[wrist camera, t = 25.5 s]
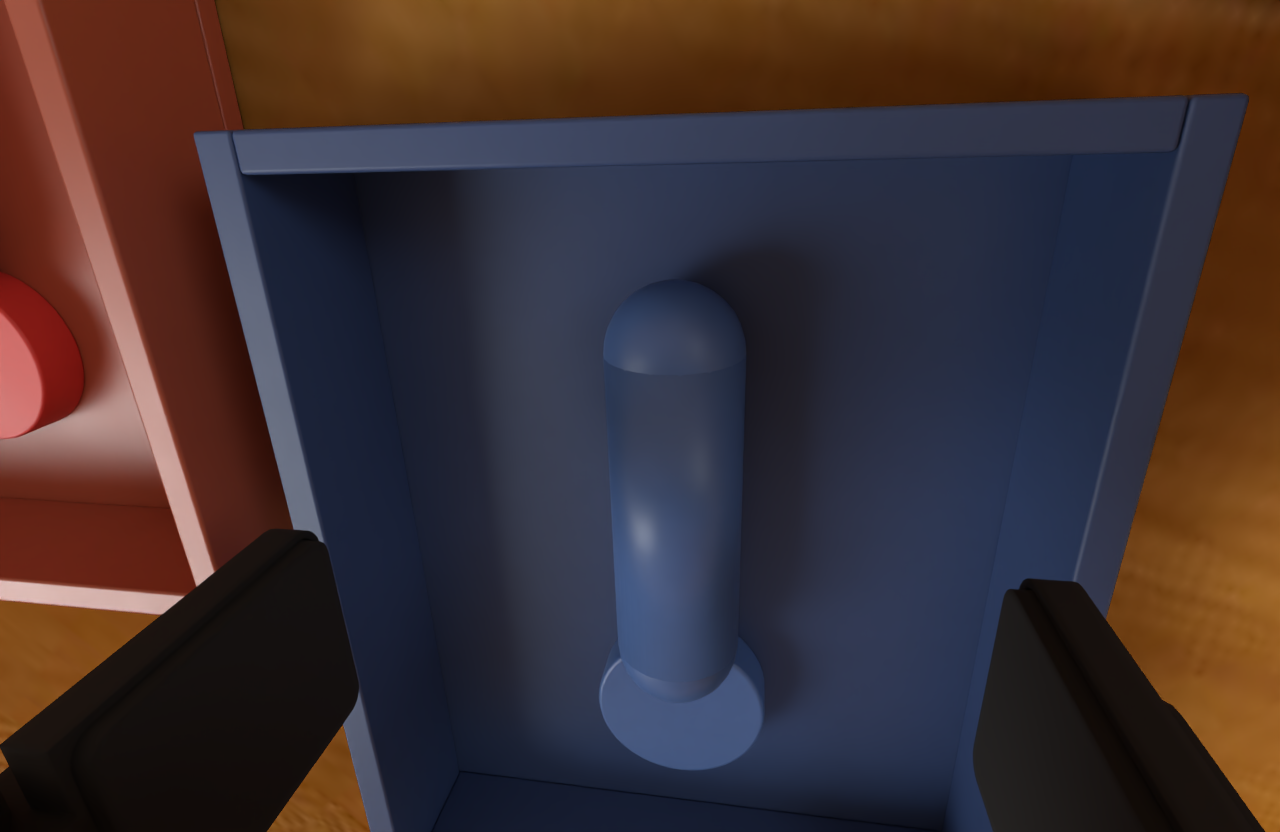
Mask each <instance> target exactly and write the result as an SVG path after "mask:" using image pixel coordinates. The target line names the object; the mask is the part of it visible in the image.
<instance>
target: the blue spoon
mask: <svg viewBox="0 0 1280 832" xmlns="http://www.w3.org/2000/svg"><path fill="white" fill-rule="evenodd" d="M603 363H604V382H605V401H606V420H607V439H608V459H609V478H610V497H611V516H612V535H613V555H614V574H615V593H616V612H617V631H618V639H617V641H616V642H615V643H614V645H613V647H612V649H611V651H610V653H609V656H608V659H607V663H606V666H605V669H604V673H603V676H602V679H601V683H600V688H599V702H600V708H601V712H602V715H603V718H604V720H605V722H606V724H607V726H608V727H609V729H610V730H611V732H612V733H613V734H614V736H615V737H616V738H617V739H618V740H619V741H620V742H621V743H622V744H623V745H624V746H625V747H627V748H628V749H629V750H631V751H632V752H633V753H635V754H637V755H638V756H640V757H642V758H644V759H646V760H648V761H650V762H653V763H655V764H658V765H661V766H665V767H668V768H673V769H679V770H706V769H712V768H716V767H720V766H723V765H726V764H728V763H731V762H732V761H734V760H736V759H738V758H739V757H741V756H742V755H744V754H745V753H746V752H747V751H748V750H749V749H750V748H751V747H752V746H753V744H754V743H755V742H756V740H757V738H758V736H759V735H760V733H761V730H762V727H763V723H764V716H765V686H764V676H763V671H762V669H761V666H760V663H759V661H758V660H757V658H756V656H755V654H754V653H753V651H752V650H751V649H750V648H749V646H748V645H747V644H746V643H745V642H744V641H743V640H742V639H741V638H740V637H739V636H738V622H739V588H740V554H741V521H742V487H743V453H744V419H745V385H746V341H745V336H744V333H743V329H742V326H741V323H740V321H739V319H738V317H737V315H736V313H735V311H734V310H733V309H732V308H731V306H730V305H729V304H728V303H727V302H726V300H724V299H723V298H722V297H721V296H720V295H718V294H717V293H716V292H714V291H713V290H711V289H709V288H707V287H705V286H703V285H701V284H699V283H695V282H690V281H686V280H677V279H672V280H664V281H660V282H656V283H652V284H649V285H647V286H645V287H643V288H641V289H639V290H637V291H635V292H634V293H633V294H632V295H631V296H629V297H628V298H627V299H626V300H625V301H623V302H622V304H621V305H620V306H619V308H618V309H617V310H616V311H615V313H614V315H613V317H612V319H611V321H610V323H609V325H608V327H607V331H606V335H605V338H604V347H603Z"/></svg>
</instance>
